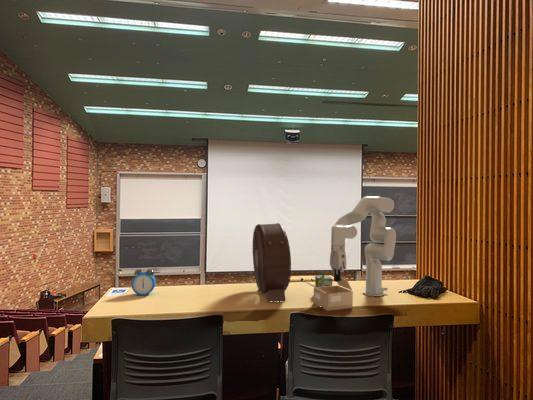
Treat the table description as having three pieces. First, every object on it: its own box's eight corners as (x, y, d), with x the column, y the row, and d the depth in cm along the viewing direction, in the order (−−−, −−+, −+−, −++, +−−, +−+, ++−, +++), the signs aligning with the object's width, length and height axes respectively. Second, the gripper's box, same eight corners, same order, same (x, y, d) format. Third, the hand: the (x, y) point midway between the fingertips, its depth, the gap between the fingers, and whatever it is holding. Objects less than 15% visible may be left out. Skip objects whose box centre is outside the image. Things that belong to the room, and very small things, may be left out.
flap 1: (304, 281, 193) (304, 281, 193) (316, 286, 181) (316, 287, 181) (314, 286, 195) (314, 287, 195) (326, 292, 183) (326, 292, 183)
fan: (292, 304, 194) (294, 225, 194) (261, 305, 191) (262, 225, 191) (276, 286, 235) (277, 221, 235) (250, 286, 231) (251, 221, 231)
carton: (337, 300, 202) (337, 285, 202) (353, 308, 189) (353, 291, 189) (313, 303, 196) (313, 287, 196) (327, 311, 182) (327, 294, 182)
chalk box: (332, 298, 208) (333, 273, 208) (317, 298, 207) (317, 273, 208) (329, 294, 217) (329, 270, 217) (314, 293, 217) (315, 270, 217)
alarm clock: (130, 296, 204) (131, 270, 204) (133, 293, 210) (133, 268, 210) (154, 295, 206) (154, 270, 206) (155, 292, 212) (156, 268, 212)
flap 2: (338, 284, 201) (338, 284, 201) (351, 290, 190) (352, 289, 190) (333, 274, 200) (333, 274, 200) (346, 279, 188) (346, 279, 188)
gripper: (351, 249, 188) (350, 283, 188) (336, 246, 202) (335, 278, 202) (339, 250, 185) (339, 284, 185) (324, 246, 199) (324, 278, 199)
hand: (337, 281), depth 193 cm, fingers closed
